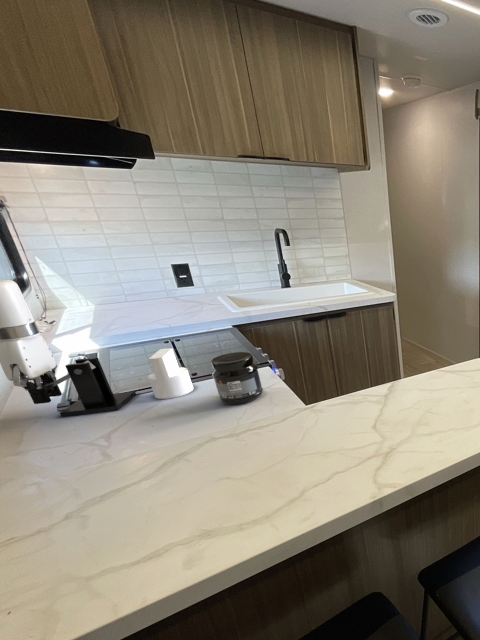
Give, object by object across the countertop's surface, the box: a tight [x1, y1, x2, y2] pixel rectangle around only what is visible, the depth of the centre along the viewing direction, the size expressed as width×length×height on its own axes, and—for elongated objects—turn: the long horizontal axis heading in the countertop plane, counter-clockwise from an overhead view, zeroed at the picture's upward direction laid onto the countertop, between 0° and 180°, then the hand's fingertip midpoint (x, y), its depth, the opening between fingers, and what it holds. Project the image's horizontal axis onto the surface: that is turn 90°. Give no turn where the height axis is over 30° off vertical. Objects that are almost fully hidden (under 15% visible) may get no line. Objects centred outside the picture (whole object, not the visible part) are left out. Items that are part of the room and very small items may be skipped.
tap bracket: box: [59, 356, 137, 418], centre depth 106 cm, size 12×10×13 cm
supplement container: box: [210, 351, 264, 406], centre depth 110 cm, size 10×10×12 cm
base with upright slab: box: [147, 347, 194, 400], centre depth 114 cm, size 9×9×12 cm
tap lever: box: [41, 360, 96, 395], centre depth 104 cm, size 14×3×3 cm, turn 108°
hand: (48, 398), depth 105 cm, fingers closed on tap lever, 3 cm apart
